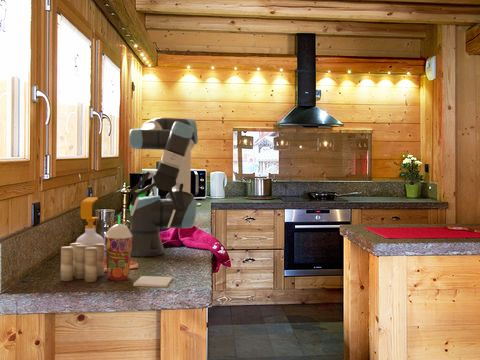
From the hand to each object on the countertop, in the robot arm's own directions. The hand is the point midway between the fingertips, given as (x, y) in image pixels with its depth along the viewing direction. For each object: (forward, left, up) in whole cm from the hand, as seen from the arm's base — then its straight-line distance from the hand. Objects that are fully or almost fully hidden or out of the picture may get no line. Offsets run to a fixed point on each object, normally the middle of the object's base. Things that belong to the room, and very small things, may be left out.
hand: (150, 221), depth 167 cm
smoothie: (+19, -5, -16) cm, 26 cm away
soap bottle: (+8, -18, -16) cm, 26 cm away
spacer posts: (+19, -16, -16) cm, 30 cm away
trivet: (+22, +7, -16) cm, 28 cm away
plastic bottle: (-42, -13, -16) cm, 47 cm away
